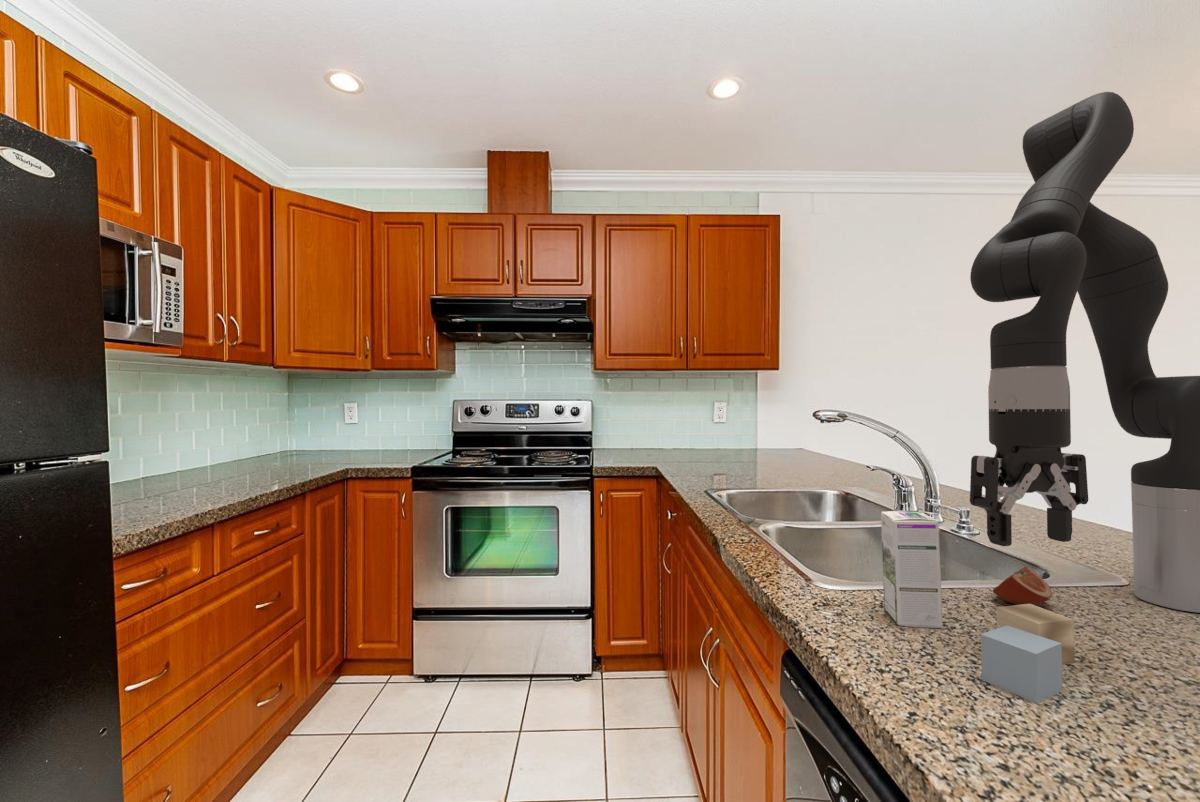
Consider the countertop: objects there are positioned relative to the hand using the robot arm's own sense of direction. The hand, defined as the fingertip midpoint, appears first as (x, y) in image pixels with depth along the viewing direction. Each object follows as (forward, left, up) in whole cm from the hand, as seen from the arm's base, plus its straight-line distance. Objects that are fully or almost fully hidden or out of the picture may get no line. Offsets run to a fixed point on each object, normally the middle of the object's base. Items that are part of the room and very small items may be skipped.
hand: (1029, 542), depth 62 cm
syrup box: (+6, -12, -13) cm, 19 cm away
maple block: (0, 0, -13) cm, 13 cm away
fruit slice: (-14, -13, -14) cm, 23 cm away
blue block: (+8, +5, -13) cm, 16 cm away
